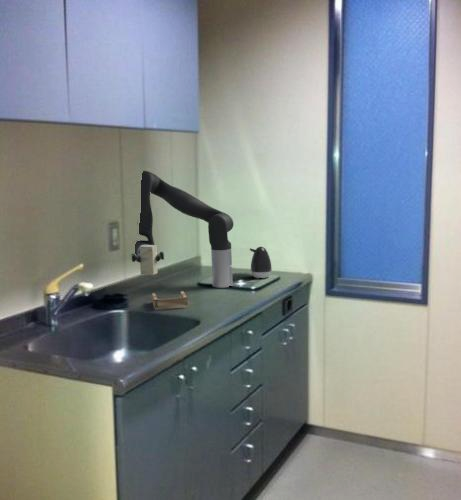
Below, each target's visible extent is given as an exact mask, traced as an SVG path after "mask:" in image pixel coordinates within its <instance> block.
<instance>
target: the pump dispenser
mask: <svg viewBox="0 0 461 500" xmlns="http://www.w3.org/2000/svg"><path fill="white" fill-rule="evenodd" d="M249 251H251V252H253V255H252V258H251V261H250V272H251V274H252V276H253V277H254V278H256V279H259V278H263V279H267V278H269V276H270V275H271V272H272V270H273V268H272V261H271V258H270V255H269V253H268V251H267V249H266V248H265V247H263V246H258V247H256V248H255V249H253V248H249Z"/></svg>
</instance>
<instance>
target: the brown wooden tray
mask: <svg viewBox="0 0 461 500" xmlns="http://www.w3.org/2000/svg"><path fill="white" fill-rule="evenodd" d="M179 292H180V297H172V298H171V297H170V298H158V297H157V295H156V293H155V292H152V293H151V295H152V296H151V297H152V300H151V301H152V304H153V305H152V306H153V307H154V311H160V310H172V309H185V308H187V309H188V307H189V306H188V296H187V295H186V293H185V292H184V290H180V291H179Z"/></svg>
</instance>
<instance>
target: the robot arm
mask: <svg viewBox="0 0 461 500" xmlns="http://www.w3.org/2000/svg"><path fill="white" fill-rule="evenodd" d="M142 171H143V173H142V180H141V213H140V223H139V234H140V235H139V234H138V235H139V236H142V237H145V238H146V239H147V240H141V239H139V240H140V241H137V240H136V241H137V242H136V244H135V254H136V255H135V254H134V253H131V254H130V255H131V257H130V258H131V262H133V263H135V262H137V263H141V262H140V246H142V245H155V240H154V236H153V226H154V225H153V224H154V223H153V222H154V221H153V220H154V219H153V217H154V216H153V211H152V205H151V194H153V195H155V196H157V197H159V198H161V199H162V200H164V201H165V202H166V203H167V204H169V205H170V206H171V207H172V208H173V209H175V210H177V211H178V212H179V213H182V214H184V215H186V216H189V217H192V218H196V219H199V220H202V221H204V222H206V223H208V224H207V225H208V226H207V229H208V230H207V231H208V241H209V245H210V251H211V252H210V255H211V256H210V257H211V281H212V282H211V284H212V285H211V286H212V287H213V288H219V289H220V288H222V289H223V288H230V287H229V286H233V283H234V282H233V265H232V264H233V263H232V262H233V261H232V258H233V257H232V242H230V241H229V237H228V236H229V235H228V233H229V232H230V231H231V230H232V229H233V228H234V220H233V218H232V216H230V215H229V214H228V213H225V212H224V211H221V210H219V209H216V208H214V207H212V206H210V205H209V204H207V203H205V202H203V201H202V200H200V199H199V198H196V197H195V196H193V195H192V194H191V193H188V192H186V191H184V190H182V189H181V188H179V187H175V186H173V185H170V184H168V183H167V182H165V180H163V179H161V177H159V176H157V174H155V173H153V172H151V171H147V170H142ZM150 192H151V193H150ZM161 260H162V261H163V260H165V254H164V252H163V251H160V252H159V253H157V262H160V261H161ZM233 287H234V286H233Z"/></svg>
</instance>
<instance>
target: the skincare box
mask: <svg viewBox="0 0 461 500" xmlns="http://www.w3.org/2000/svg"><path fill="white" fill-rule="evenodd" d="M157 246H158V245H157V244H154V245H142V246H140V262H141V263H140V264H139V265H140V269H139V270H140V275H147V276H148V275H149V276H154V275H157V274H158V261H157V254H158V250H157V249H158V247H157Z"/></svg>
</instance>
